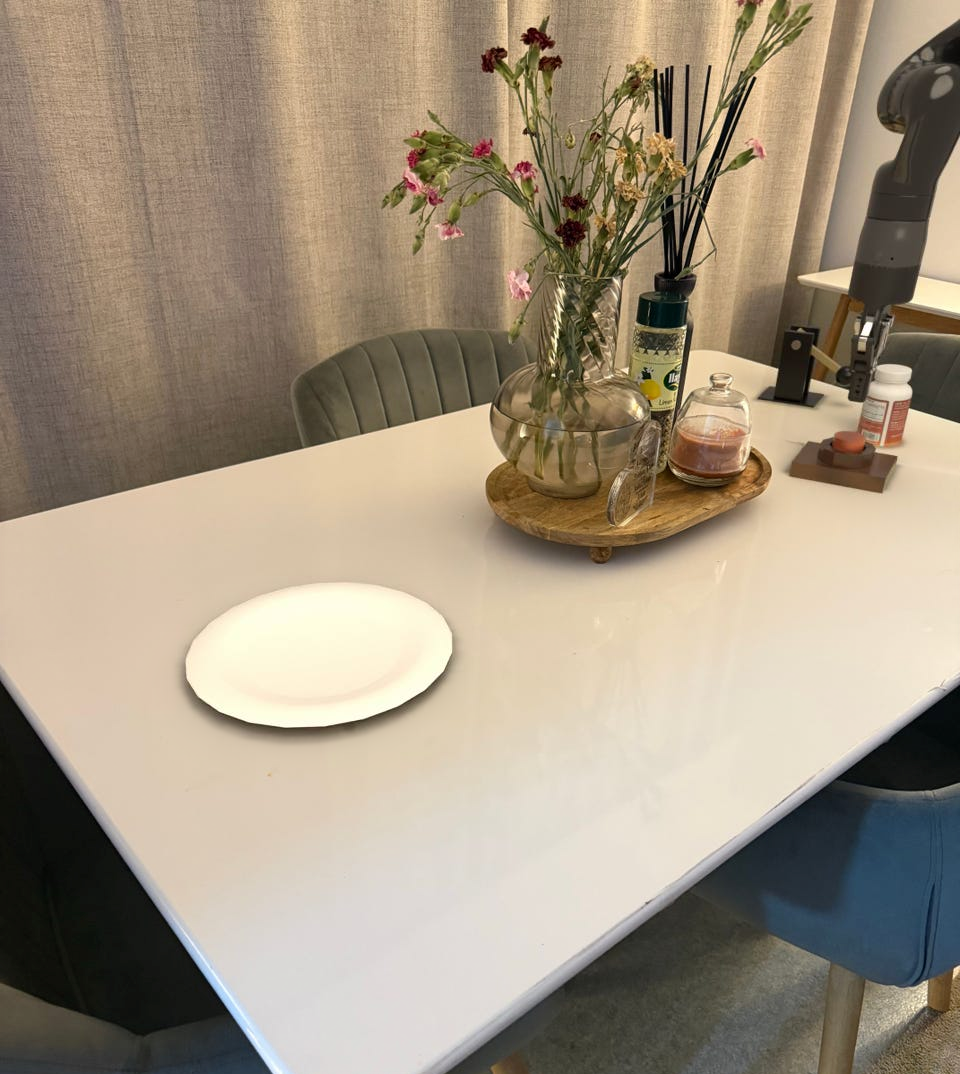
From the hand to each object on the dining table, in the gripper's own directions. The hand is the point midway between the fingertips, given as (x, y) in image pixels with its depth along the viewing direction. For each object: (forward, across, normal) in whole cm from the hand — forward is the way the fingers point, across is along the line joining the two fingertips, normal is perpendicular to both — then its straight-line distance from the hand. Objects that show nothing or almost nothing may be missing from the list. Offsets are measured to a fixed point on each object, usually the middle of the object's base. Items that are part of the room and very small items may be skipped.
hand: (856, 400), depth 119 cm
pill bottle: (+10, +14, -2) cm, 18 cm away
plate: (+11, -71, +33) cm, 79 cm away
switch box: (+10, 0, 0) cm, 10 cm away
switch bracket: (+10, +27, +14) cm, 32 cm away
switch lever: (+4, +27, +11) cm, 29 cm away
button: (+7, 0, 0) cm, 7 cm away
